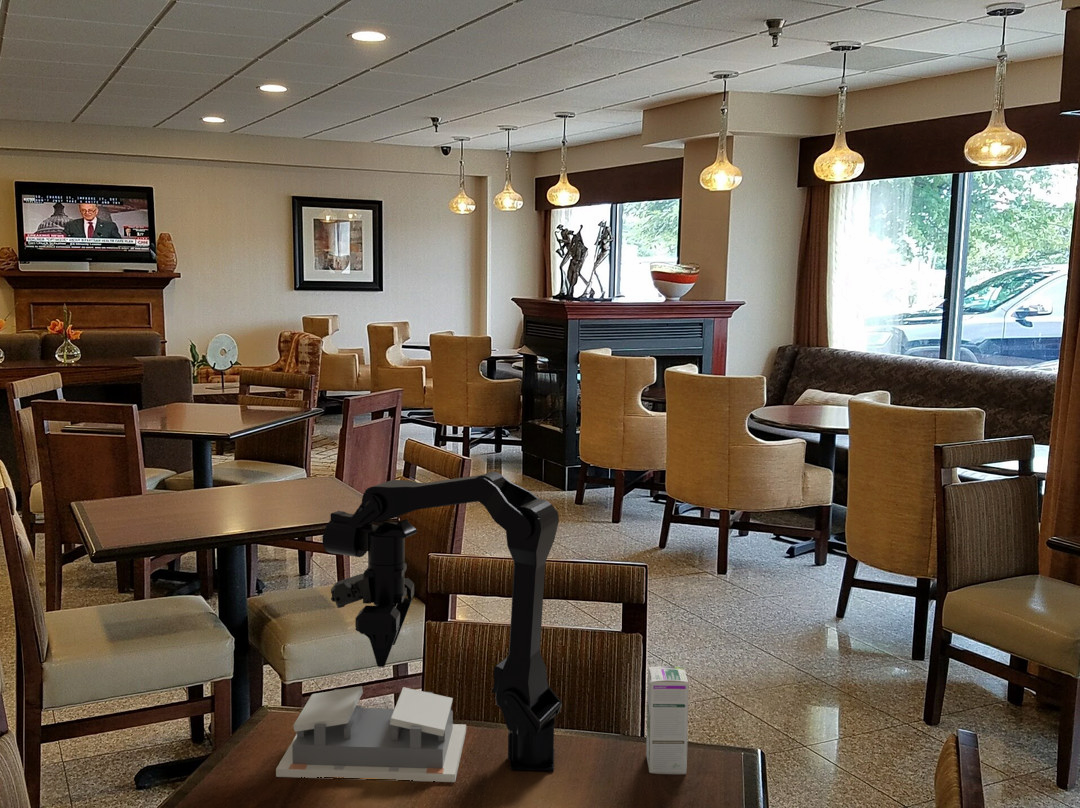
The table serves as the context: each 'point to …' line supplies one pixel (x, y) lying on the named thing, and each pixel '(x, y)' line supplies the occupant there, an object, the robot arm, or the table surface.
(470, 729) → the table surface
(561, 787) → the table surface
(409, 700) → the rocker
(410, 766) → the box
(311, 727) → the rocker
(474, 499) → the robot arm
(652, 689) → the syrup box
